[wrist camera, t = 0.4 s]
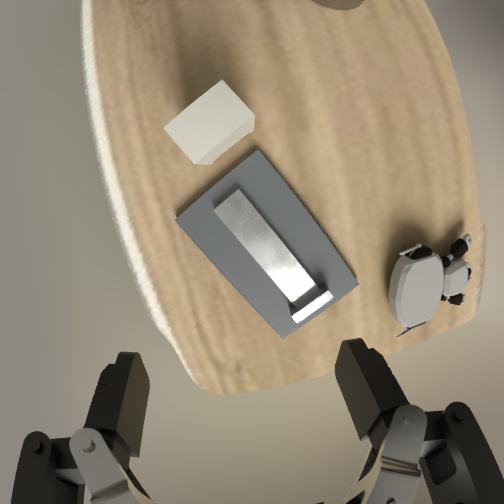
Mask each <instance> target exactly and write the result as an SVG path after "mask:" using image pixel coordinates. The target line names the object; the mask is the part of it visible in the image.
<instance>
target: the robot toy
mask: <svg viewBox="0 0 504 504" xmlns="http://www.w3.org/2000/svg"><path fill="white" fill-rule="evenodd" d="M470 237H471V236H470V235H469V234H466V235H464V237H463V239H460V238H459V239H458V240H457V241H456V242H455V243H454V244H453V245H452V247H451V251H450V254H449V255H448V256H447V257H446V256H443V257H442V258H440V257H439V255H438V254H436V253H434V252H432V250H431V249H430V248H428V247H426V246H422V244H419V243H418V244H416V246H414V247H412V248H410V249H408V250H406V251H402V252H400V254H399V255H403V256H401V257H400V258H399V259H398V261H397V262H396V264H395V266H394V269H393V272H392V276H391V280H390V287H389V294H388V296H389V303H390V309H391V313H392V316H393V317H394V318H395V320H396V321H397V322H398V323H399V324H400V325H401V326H402V327H406V328H407V329H408V330H406V331H405V332H403V333H402V334H399V335H398V336H397V337H396V339H399V338H401V336H403V335H404V334H406V333H407V332H409V331H410V330H412V329H415V328H416V327H417V326H419V325H422V324H424V323H426V321H428V320H430V319H431V318H432V316H433V315H434V314H435V312H436V311H437V308H438V306H439V303H440V300H442V301H446V299H447V300H448V301H449V303H451V304H455V305H462V304H463V303H464V301H463V299H466V295H465V294H461V292H462V291H463V290H464V288H465V286H466V285H467V284H468V283H469V281H470V279H471V277H469V276H470V274H471V268H472V267H471V264H469V263H467V262H465V261H463V260H461V259H459V257H462V256H463V255H464V254H465V253H466V252H467V250H468V246H470V244H471V242H472V240H471V238H470ZM404 254H405V255H404Z"/></svg>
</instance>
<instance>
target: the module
mask: <svg viewBox="0 0 504 504" xmlns="http://www.w3.org/2000/svg"><path fill="white" fill-rule="evenodd" d="M254 118H255V115H254V114H253V113H252V112H251V111H250V109H249V108H248V107H247V106H246V105H245V104H244V103H243V102H242V101H241V99H240V98H239V97H238V96H237V95H236V94H235V93H234V92H233V91H232V90H231V89H230V88H229V87H228V85H227V84H226V83H225V82H224V81H223V80H221V81H220V82H218V83H217V84H216V85H214V86H213V87H212V88H210V89H209V90H208V91H207V92H205V93H204V94H203V95H202V96H200V97H199V98H198V99H197V100H195V101H194V102H193V103H192V104H191V105H189V106H188V107H187V108H186V109H185V110H183V111H182V112H181V113H180V114H179V115H178V116H176V117H175V118H174V119H173V120H172V121H171V122H170V123H169V124H167V125H166V126H165V127H164V130H165V131H166V132H167V133H168V134H169V135H170V136H171V138H172V139H173V140H174V141H175V142H176V143H177V145H178V146H179V147H180V148H181V149H182V150H183V152H184V153H185V154H186V155H187V156H188V157H189V159H190V160H191V161H192V162H193V163H194V164H204V165H212V164H213V163H214V160H216V159H217V158H218V157H219V156H220V155H222V154H223V153H224V152H225V151H227V150H228V149H229V148H230V147H231V146H233V145H234V144H235V143H236V142H238V141H239V140H240V139H242V138H243V137H244V136H245V135H247V134H248V133H251V132H253V131H254Z"/></svg>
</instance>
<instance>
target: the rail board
mask: <svg viewBox="0 0 504 504" xmlns="http://www.w3.org/2000/svg"><path fill="white" fill-rule="evenodd" d="M238 189H240V190H241V191H242V192H243V194H244V195H245V196H246V197H247V198H248V200H249V201H250V202H251V203H252V204H253V206H254V207H255V208H256V209H257V210H258V212H259V213H260V214H261V215H262V217H263V218H264V219H265V220H266V221H267V223H268V224H269V225H270V226H271V228H272V229H273V230H274V231H275V233H276V234H277V235H278V236H279V237H280V239H281V240H282V241H283V242H284V244H285V245H286V246H287V247H288V249H289V250H290V251H291V252H292V254H293V255H294V256H295V257H296V259H297V260H298V261H299V263H300V264H301V265H302V266H303V268H304V269H305V270H306V271H307V273H308V274H309V275H310V277H311V278H312V279H313V280H314V282H315V283H316V284H317V286H318V285H320V284H321V283H322V282H324V283H325V284H326V286H327V287H328V288H329V290H330V292H331V293H332V295H333V297H334V298H332V299H331V300H329V301H328V302H327V303H325V304H324V305H323V306H321V307H320V308H318V309H317V310H316V311H314V312H313V313H311V314H310V315H308V316H307V317H306V318H304V319H303V320H301V321H300V322H298V323H296V321H295V320H294V319H293V318H292V317H291V314H290V310H289V306H291V305H292V304H293V303H292V302H291V301H290V300H289V298H288V297H287V296H286V295H285V294H284V293H283V291H282V290H281V289H280V288H279V287H278V286H277V284H276V283H275V282H274V281H273V280H272V279H271V277H270V276H269V275H268V274H267V273H266V272H265V270H264V269H263V268H262V267H261V266H260V265H259V263H258V262H257V261H256V260H255V259H254V258H253V256H252V255H251V254H250V253H249V252H248V251H247V249H246V248H245V247H244V246H243V245H242V244H241V242H240V241H239V240H238V239H237V238H236V237H235V235H234V234H233V233H232V232H231V231H230V230H229V228H228V227H227V226H226V225H225V224H224V223H223V221H222V220H221V219H220V218H219V217H218V216H217V214H216V213H215V212H214V211H213V210H214V209H215V208H216V207H217V206H219V205H220V204H221V203H222V202H223V201H225V200H226V199H227V198H228V197H229V196H231V195H232V194H233V193H234V192H236V191H237V190H238ZM175 221H176V222H177V223H178V224H179V226H180V227H181V228H182V229H183V230H184V231H185V233H186V234H187V235H188V236H189V237H190V238H191V239H192V241H193V242H194V243H195V244H196V245H197V246H198V247H199V248H200V250H201V251H202V252H203V253H204V254H205V255H206V256H207V258H208V259H209V260H210V261H211V262H212V263H213V264H214V265H215V266H216V268H217V269H218V270H219V271H220V272H221V273H222V274H223V275H224V276H225V278H226V279H227V280H228V281H229V282H230V283H231V284H232V285H233V286H234V287H235V288H236V290H237V291H238V292H239V293H240V294H241V295H242V296H243V297H244V298H245V299H246V300H247V301H248V303H249V304H250V305H251V306H252V307H253V308H254V309H255V310H256V311H257V312H258V313H259V314H260V315H261V316H262V317H263V319H264V320H265V321H266V322H267V323H268V324H269V325H270V326H271V327H272V328H273V329H274V330H275V331H276V332H277V333H278V334H279V335H280V336H281V337H282V338H285V337H286V336H288V335H289V334H291V333H292V332H294V331H295V330H297V329H298V328H300V327H301V326H303V325H304V324H306V323H307V322H309V321H310V320H311V319H313V318H314V317H316V316H317V315H319V314H320V313H321V312H323V311H324V310H326V309H327V308H328V307H330V306H331V305H332V304H334V303H335V302H337V301H338V300H339V299H341V298H342V297H343V296H345V295H346V294H347V293H349V292H350V291H351V290H353V289H354V288H355V287H357V286H358V285H359V283H358V281H357V280H356V278H355V277H354V275H353V274H352V273H351V271H350V270H349V268H348V267H347V265H346V264H345V262H344V261H343V259H342V258H341V257H340V255H339V254H338V252H337V251H336V249H335V248H334V247H333V245H332V244H331V242H330V241H329V240H328V238H327V237H326V235H325V234H324V233H323V231H322V230H321V229H320V227H319V226H318V224H317V223H316V222H315V220H314V219H313V218H312V216H311V215H310V214H309V212H308V211H307V210H306V208H305V207H304V206H303V204H302V203H301V202H300V201H299V199H298V198H297V197H296V195H295V194H294V193H293V191H292V190H291V189H290V188H289V186H288V185H287V184H286V183H285V181H284V180H283V179H282V177H281V176H280V175H279V174H278V173H277V171H276V170H275V169H274V168H273V166H272V165H271V164H270V163H269V161H268V160H267V159H266V158H265V157H264V155H263V154H262V153H261V152H260V151H259V149H258V150H257V151H256V152H254V153H253V154H252V155H250V156H249V157H248V158H247V159H245V160H244V161H243V162H242V163H240V164H239V165H238V166H237V167H236V168H234V169H233V170H232V171H231V172H229V173H228V174H227V175H226V176H225V177H223V178H222V179H221V180H220V181H219V182H217V183H216V184H215V185H214V186H213V187H211V188H210V189H209V190H208V191H207V192H206V193H204V194H203V195H202V196H201V197H200V198H199V199H198V200H196V201H195V202H194V203H193V204H192V205H191V206H190V207H188V208H187V209H186V210H185V211H184V212H183V213H182V214H181V215H180V216H178V217H177V218H176V219H175Z"/></svg>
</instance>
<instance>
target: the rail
mask: <svg viewBox="0 0 504 504" xmlns="http://www.w3.org/2000/svg"><path fill="white" fill-rule="evenodd" d="M213 211H214V212H215V213H216V214H217V216H218V217H219V218H220V219H221V220H222V221H223V223H224V224H225V225H226V226H227V227H228V228H229V230H230V231H231V232H232V233H233V234H234V235H235V237H236V238H237V239H238V240H239V241H240V242H241V244H242V245H243V246H244V247H245V248H246V249H247V251H248V252H249V253H250V254H251V255H252V256H253V258H254V259H255V260H256V261H257V262H258V263H259V265H260V266H261V267H262V268H263V269H264V270H265V272H266V273H267V274H268V275H269V276H270V277H271V279H272V280H273V281H274V282H275V283H276V284H277V286H278V287H279V288H280V289H281V290H282V291H283V293H284V294H285V295H286V296H287V297H288V298H289V300H290V301H291V302H292V303H293V304H292V305H291V306H289V310H290V314H291V317H292V318H293V319H294V320H295V321H296V323H298V322H300V321H301V320H303V319H304V318H306V317H307V316H308V315H310V314H311V313H313V312H314V311H316V310H317V309H318V308H320V307H321V306H323V305H324V304H325V303H327V302H328V301H329V300H331V299H332V298H334V297H333V295H332V293H331V292H330V290H329V288H328V287H327V286H326V284H325V283H324V282H322V283H321V284H320V285H318V286H317V284H316V283H315V282H314V280H313V279H312V278H311V277H310V275H309V274H308V273H307V271H306V270H305V269H304V268H303V266H302V265H301V264H300V263H299V261H298V260H297V259H296V257H295V256H294V255H293V254H292V252H291V251H290V250H289V249H288V247H287V246H286V245H285V244H284V242H283V241H282V240H281V239H280V237H279V236H278V235H277V234H276V233H275V231H274V230H273V229H272V228H271V226H270V225H269V224H268V223H267V221H266V220H265V219H264V218H263V217H262V215H261V214H260V213H259V212H258V210H257V209H256V208H255V207H254V206H253V204H252V203H251V202H250V201H249V200H248V198H247V197H246V196H245V195H244V194H243V192H242V191H241V190H240V189H238V190H237V191H236V192H234V193H233V194H232V195H231V196H229V197H228V198H227V199H226V200H225V201H223V202H222V203H221V204H220V205H219V206H217V207H216V208H215V209H214V210H213Z"/></svg>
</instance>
